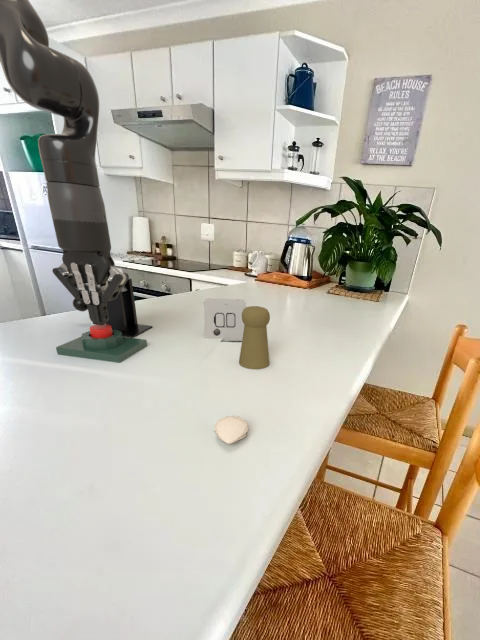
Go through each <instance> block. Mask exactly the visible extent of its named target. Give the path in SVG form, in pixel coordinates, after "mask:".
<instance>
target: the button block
mask: <svg viewBox="0 0 480 640" xmlns="http://www.w3.org/2000/svg"><path fill="white" fill-rule="evenodd" d="M112 332H113V335H112V336H110V337H105V338H94V337H91V334H90V330H88V331H85V332H82V334H81V336H79V337H76V338H75V339H72V340H69V341H68V342H65V343H63V344H60V345H58V346H55V349H56V354H57V355H58V356H65V357H72V358H73V357H74V358H80V359H87V360H94V361H102V362H103V361H104V362H108V363H109V362H111V363H117V364H121V363H122V362H124V361H126V360H128V359H130V357H132V356H134V355H135V354H137V353H139V352H140V351H142V350H144V349H146V348H147V347H148V342H147V339H143V338H137V337H134V338H130V337H123V336H122V332H120V331H118V330H114V329H112Z"/></svg>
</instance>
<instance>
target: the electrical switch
mask: <svg viewBox="0 0 480 640" xmlns="http://www.w3.org/2000/svg"><path fill="white" fill-rule="evenodd" d="M246 307H247V301H246V300H245V299H241V298H210V297H209V298H204V300H203V312H204V313H203V317H204V318H203V319H204V339H208V340H209V339H210V340H211V339H212V340H213V339H216V340H217V339H218V340H219V339H221V340H220V342H242V338H243V332H244V323H243V321H242V311H243V310H244V309H245V308H246ZM215 331H218V334H216V332H215Z"/></svg>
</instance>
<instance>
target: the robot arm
mask: <svg viewBox="0 0 480 640" xmlns="http://www.w3.org/2000/svg"><path fill="white" fill-rule="evenodd" d="M0 65H1V69H2V71H3V75H4V77H5V80H6V82H7V84H8V86H9V87H10V88H11V90H12V91H13V92H14V94H16V96H18V97H19V98H20V100H21V101H23V102H24V103H25V104H27V105H28V106H30V107H32V108H34V109H36V110H39V111H43V112H46V113H50V114H51V115H52V114H53V115H56V116H58V117H59V116H60V117H62V118H63V127H62V131H61V133H45V134H42V135H40V136H39V138H38V140H37V146H38V151H39V156H40V160H41V161H40V162H41V166H42V170H43V174H44V178H45V181H46V182H45V184H46V189H47V190H46V191H47V202H48V205H49V211H50V214H51V219H52V224H53V228H54V232H55V233H54V234H55V237H56V241H57V246H58V248H59V249H61V250H62V256H61V257H62V258H61V261H62V263H61V265H59V266H58V267H54V268H52V271H51V272H52V273H53V275H54V276H55V277H56V279H58V281H59V282H60V283H61V284H62V286H64V287H65V289H66V290H67V291H68V293H70V295H71V296H72V297H73V298H74V299H81V300H83V301H84V302H85V303H86V304H87V307H88V310H87V313H88V317H89V320H90V322H92V324H93V325H104V324H106V323H107V322H108V321H109V314H108V308H107V303H108V302H109V301H112V300H115V299H116V298H117V297H118V295H119V293H120V292H121V290H122V288H123V287H124V285H125V283H126V282H127V280H128V279H129V278H130V275H129V274H128V272H122V271H121V270H119V269H118V268H117V267H116V264H115V261H114V259H113V257H112V256H111V250H112V244H111V236H110V230H109V224H108V217H107V211H106V205H105V202H104V201H105V200H104V198H103V195H102V189H101V185H100V178H99V173H98V172H99V171H98V168H97V167H98V166H97V161H96V151H97V150H96V149H97V141H98V126H99V118H100V117H99V116H100V97H99V92H98V89H97V85H96V83H95V81H94V79H93V76H92V74H91V73H90V72H89V70H88V68H87V67H86V66H85V65H84V64H83V63H81V62H80V61H78V60H77V59H75V58H73V57H71V56H70V55H67V54H65V53H63V52H60V51H58V50H56V49H54V48H52V47H50V39H49V34H48V31H47V29H46V26H45V23H44V22H43V21H42V19H41V17H40V15H39V14H38V12H37V11H36V9H35V8H34V6H33V5H32V3H31V2H30V0H0ZM108 280H110V281H111V282H110V283H109V285H108Z"/></svg>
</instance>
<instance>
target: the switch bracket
mask: <svg viewBox="0 0 480 640" xmlns="http://www.w3.org/2000/svg"><path fill="white" fill-rule="evenodd" d="M110 282H111V281H110V280H109V279H108V285H109V283H110ZM125 287H126V289H127V291H125V292H123V293H122V290H121V292H120V293H119V295H118V297H117V298H116V299H115V300H112V301H109V302H108V303H107V308H108V314H109V321H108V322H107V323H106V325H110V326H111V327H112V329H114V330H118V331H120V332H122V337H129V338H137V337H138V336H140V335H142V334H144V333H146V332H148V331H149V330H151V329H153V328H154V326H153V325H147V324H139V323H138V316H137V308H136V303H135V302H136V300H135V295H134V293H135V292H134V287H133V280H132V278H130V277H129V279H128V280H127V282H126V283H125Z"/></svg>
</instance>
